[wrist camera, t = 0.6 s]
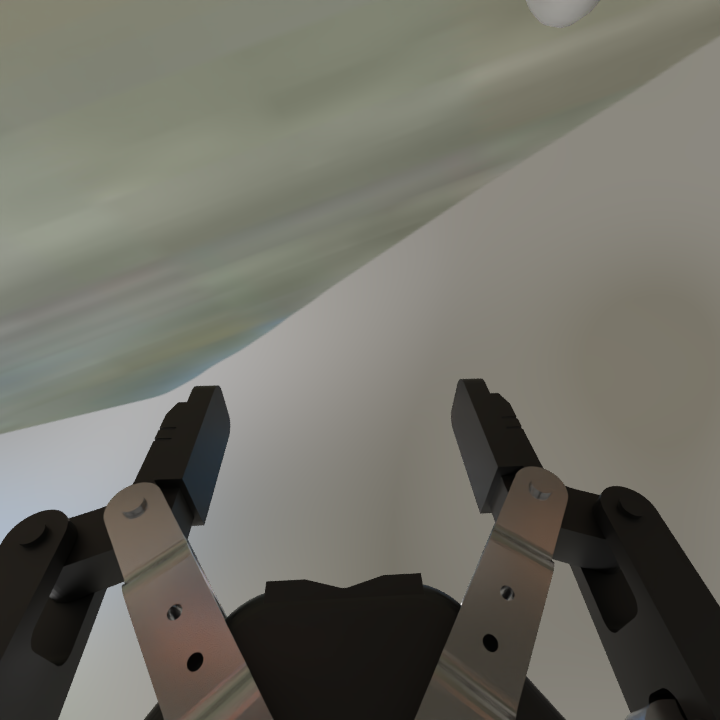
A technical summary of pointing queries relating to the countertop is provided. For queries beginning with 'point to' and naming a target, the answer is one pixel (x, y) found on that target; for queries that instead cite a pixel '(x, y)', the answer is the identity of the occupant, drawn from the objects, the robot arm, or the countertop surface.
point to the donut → (560, 11)
